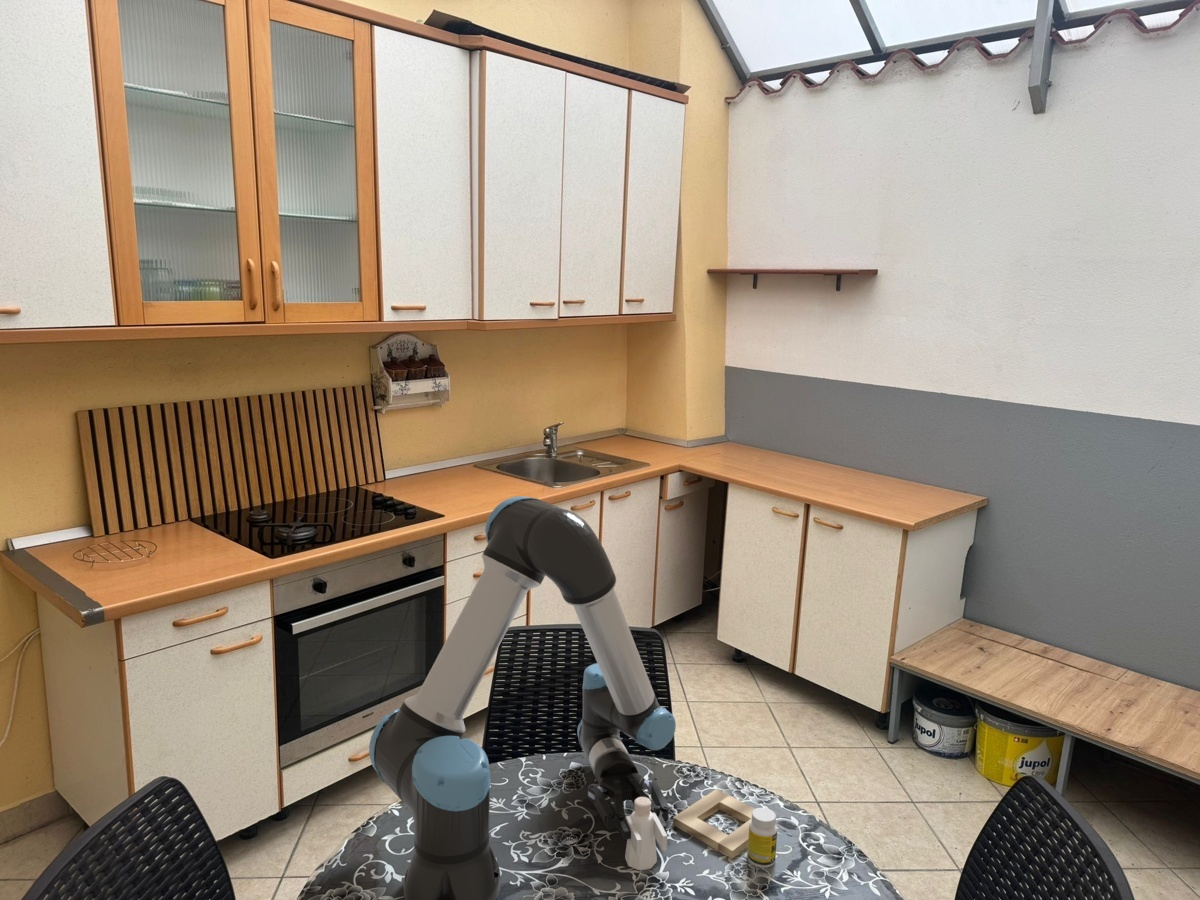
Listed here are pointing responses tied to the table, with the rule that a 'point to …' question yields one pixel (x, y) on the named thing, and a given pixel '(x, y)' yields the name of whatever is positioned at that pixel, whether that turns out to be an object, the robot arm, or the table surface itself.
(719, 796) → the hole block
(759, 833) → the supplement bottle
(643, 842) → the pepper shaker
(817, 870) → the table surface
